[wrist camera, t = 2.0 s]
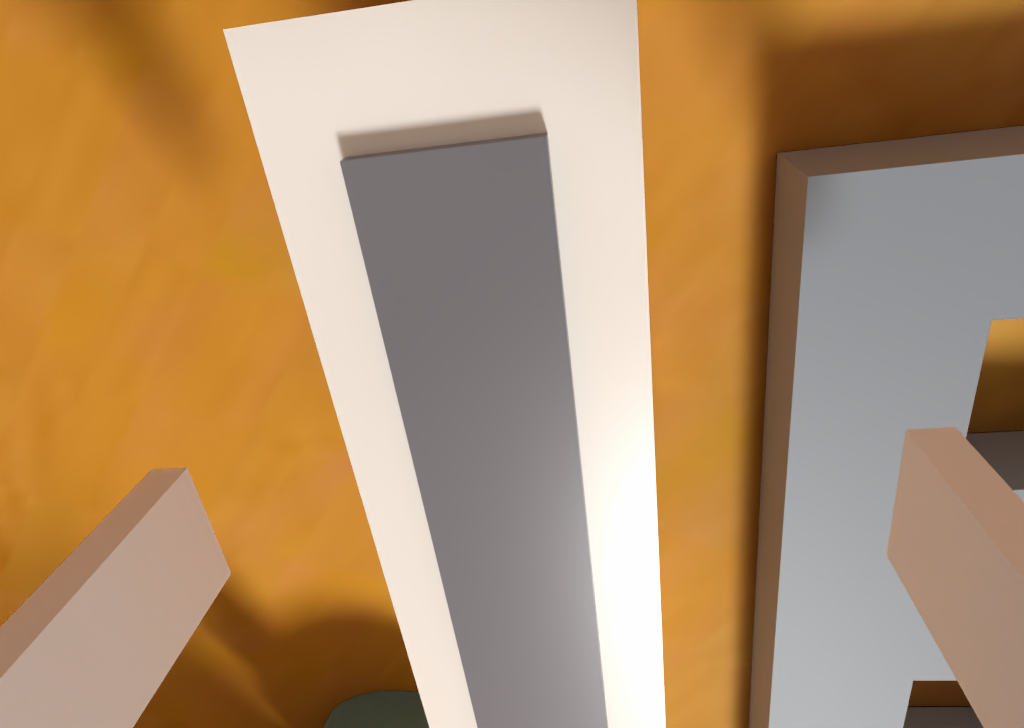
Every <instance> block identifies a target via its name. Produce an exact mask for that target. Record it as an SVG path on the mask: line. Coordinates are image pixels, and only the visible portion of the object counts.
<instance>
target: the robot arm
mask: <svg viewBox="0 0 1024 728" xmlns="http://www.w3.org/2000/svg"><path fill="white" fill-rule="evenodd" d="M887 557H888V559H889V560H890V562H891V564H892V566H893V567H894V569H895V571H896V573H897V575H898V576H899V578H900V580H901V582H902V583H903V585H904V587H905V589H906V591H907V592H908V594H909V596H910V598H911V599H912V601H913V603H914V605H915V607H916V608H917V610H918V612H919V614H920V615H921V617H922V619H923V621H924V623H925V624H926V626H927V628H928V630H929V632H930V633H931V635H932V637H933V639H934V640H935V642H936V644H937V646H938V648H939V649H940V651H941V653H942V655H943V656H944V658H945V660H946V662H947V664H948V665H949V667H950V669H951V671H952V672H953V674H954V676H955V678H956V680H957V681H958V683H959V685H960V687H961V688H962V690H963V692H964V694H965V696H966V697H967V699H968V701H969V703H970V704H971V706H972V708H973V710H974V712H975V713H976V715H977V717H978V719H979V720H980V722H981V724H982V726H983V728H1024V502H1023V501H1022V500H1021V499H1020V498H1019V497H1018V496H1017V494H1016V493H1015V492H1014V491H1013V490H1012V489H1011V488H1010V487H1009V486H1008V485H1007V483H1006V482H1005V481H1004V480H1003V479H1002V478H1001V477H1000V476H999V475H998V473H997V472H996V471H995V470H994V469H993V468H992V467H991V466H990V465H989V464H988V462H987V461H986V460H985V459H984V458H983V457H982V456H981V455H980V454H979V453H978V451H977V450H976V449H975V448H974V447H973V446H972V445H971V444H970V443H969V442H968V440H967V439H966V438H965V437H964V436H963V435H962V434H961V433H960V432H959V430H958V429H957V428H956V427H945V428H926V429H907V430H906V432H905V438H904V445H903V451H902V458H901V464H900V471H899V477H898V484H897V490H896V497H895V503H894V510H893V516H892V523H891V529H890V536H889V542H888V549H887ZM230 575H231V571H230V569H229V567H228V564H227V562H226V559H225V557H224V555H223V552H222V550H221V547H220V545H219V543H218V540H217V538H216V535H215V533H214V531H213V528H212V526H211V523H210V521H209V519H208V516H207V514H206V511H205V509H204V507H203V504H202V502H201V499H200V497H199V495H198V492H197V490H196V487H195V485H194V483H193V480H192V478H191V475H190V473H189V471H188V468H173V469H154V470H151V471H150V472H149V473H148V474H147V475H146V476H145V477H144V478H143V479H142V480H141V481H140V482H139V483H138V484H137V485H136V486H135V488H134V489H133V490H132V491H131V492H130V493H129V494H128V495H127V496H126V497H125V498H124V499H123V500H122V501H121V502H120V503H119V504H118V505H117V506H116V507H115V508H114V509H113V510H112V511H111V512H110V514H109V515H108V516H107V517H106V518H105V519H104V520H103V521H102V522H101V523H100V524H99V525H98V526H97V527H96V528H95V529H94V530H93V531H92V532H91V533H90V534H89V535H88V536H87V537H86V538H85V539H84V541H83V542H82V543H81V544H80V545H79V546H78V547H77V548H76V549H75V550H74V551H73V552H72V553H71V554H70V555H69V556H68V557H67V558H66V559H65V560H64V561H63V562H62V563H61V564H60V565H59V567H58V568H57V569H56V570H55V571H54V572H53V573H52V574H51V575H50V576H49V577H48V578H47V579H46V580H45V581H44V582H43V583H42V584H41V585H40V586H39V587H38V588H37V589H36V590H35V591H34V593H33V594H32V595H31V596H30V597H29V598H28V599H27V600H26V601H25V602H24V603H23V604H22V605H21V606H20V607H19V608H18V609H17V610H16V611H15V612H14V613H13V614H12V615H11V616H10V617H9V618H8V620H7V621H6V622H5V623H4V624H3V625H2V626H1V627H0V728H133V727H134V725H135V724H136V722H137V721H138V719H139V717H140V716H141V714H142V713H143V711H144V710H145V708H146V706H147V705H148V703H149V702H150V700H151V699H152V697H153V695H154V694H155V692H156V691H157V689H158V688H159V686H160V684H161V683H162V681H163V680H164V678H165V677H166V675H167V674H168V672H169V670H170V669H171V667H172V666H173V664H174V663H175V661H176V659H177V658H178V656H179V655H180V653H181V652H182V650H183V648H184V647H185V645H186V644H187V642H188V641H189V639H190V637H191V636H192V634H193V633H194V631H195V630H196V628H197V626H198V625H199V623H200V622H201V620H202V619H203V617H204V616H205V614H206V612H207V611H208V609H209V608H210V606H211V605H212V603H213V601H214V600H215V598H216V597H217V595H218V594H219V592H220V590H221V589H222V587H223V586H224V584H225V583H226V581H227V579H228V578H229V576H230Z"/></svg>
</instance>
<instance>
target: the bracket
mask: <svg viewBox="0 0 1024 728" xmlns="http://www.w3.org/2000/svg"><path fill="white" fill-rule="evenodd" d="M323 728H429V725H428V721H427V718H426V715H425V711H424V708H423V704H422V701H421V698H420V694H419V693H416V692H410V691H381V692H372V693H368V694H363V695H359V696H356V697H354V698H351V699H349V700H346V701H344V702H343V703H341V704H340V705H338V706H337V707H335V708H334V709H333V711H332V713H331V714H330V716H329V718H328V719H327V721H326V723H325V724H324V726H323Z"/></svg>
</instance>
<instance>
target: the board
mask: <svg viewBox="0 0 1024 728" xmlns="http://www.w3.org/2000/svg"><path fill="white" fill-rule="evenodd" d="M1018 318H1024V125H1023V126H1014V127H1005V128H996V129H987V130H978V131H969V132H960V133H951V134H942V135H933V136H924V137H915V138H906V139H897V140H888V141H879V142H870V143H861V144H853V145H844V146H835V147H826V148H817V149H808V150H799V151H790V152H781V153H777V170H776V190H775V210H774V230H773V250H772V270H771V290H770V310H769V330H768V350H767V370H766V390H765V410H764V430H763V451H762V471H761V491H760V511H759V531H758V551H757V571H756V591H755V611H754V631H753V651H752V671H751V691H750V711H749V728H983V726H982V724H981V722H980V720H979V719H978V717H977V715H976V713H975V712H974V710H973V708H972V707H908V703H909V698H910V693H911V689H912V684H913V681H957V680H956V678H955V676H954V674H953V672H952V671H951V669H950V667H949V665H948V664H947V662H946V660H945V658H944V656H943V655H942V653H941V651H940V649H939V648H938V646H937V644H936V642H935V640H934V639H933V637H932V635H931V633H930V632H929V630H928V628H927V626H926V624H925V623H924V621H923V619H922V617H921V615H920V614H919V612H918V610H917V608H916V607H915V605H914V603H913V601H912V599H911V598H910V596H909V594H908V592H907V591H906V589H905V587H904V585H903V583H902V582H901V580H900V578H899V576H898V575H897V573H896V571H895V569H894V567H893V566H892V564H891V562H890V560H889V559H888V557H887V549H888V542H889V536H890V529H891V523H892V516H893V510H894V503H895V497H896V490H897V484H898V477H899V471H900V464H901V458H902V451H903V445H904V438H905V432H906V430H907V429H926V428H945V427H956V428H957V429H958V430H959V432H960V433H961V434H962V435H963V436H964V437H965V438H966V439H967V440H968V442H969V443H970V444H971V445H972V446H973V447H974V448H975V449H976V450H977V451H978V453H979V454H980V455H981V456H982V457H983V458H984V459H985V460H986V461H987V462H988V464H989V465H990V466H991V467H992V468H993V469H994V470H995V471H996V472H997V473H998V475H999V476H1000V477H1001V478H1002V479H1003V480H1004V481H1005V482H1006V483H1007V485H1008V486H1009V487H1010V488H1011V489H1012V490H1013V491H1014V492H1015V493H1016V494H1017V496H1018V497H1019V498H1020V499H1021V500H1022V501H1023V502H1024V431H1010V432H991V433H972V434H967V431H968V426H969V422H970V417H971V413H972V408H973V403H974V399H975V394H976V390H977V385H978V380H979V376H980V371H981V366H982V362H983V357H984V353H985V348H986V343H987V339H988V334H989V330H990V325H991V320H1004V319H1018Z"/></svg>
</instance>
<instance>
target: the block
mask: <svg viewBox="0 0 1024 728" xmlns="http://www.w3.org/2000/svg"><path fill="white" fill-rule="evenodd" d="M223 31H224V35H225V38H226V42H227V45H228V48H229V52H230V55H231V58H232V62H233V65H234V69H235V72H236V75H237V79H238V82H239V85H240V89H241V92H242V96H243V99H244V102H245V106H246V109H247V113H248V116H249V119H250V123H251V126H252V129H253V133H254V136H255V140H256V143H257V146H258V150H259V153H260V157H261V160H262V163H263V167H264V170H265V173H266V177H267V180H268V184H269V187H270V190H271V194H272V197H273V200H274V204H275V207H276V211H277V214H278V217H279V221H280V224H281V228H282V231H283V234H284V238H285V241H286V244H287V248H288V251H289V255H290V258H291V261H292V265H293V268H294V272H295V275H296V278H297V282H298V285H299V288H300V292H301V295H302V299H303V302H304V305H305V309H306V312H307V315H308V319H309V322H310V326H311V329H312V332H313V336H314V339H315V343H316V346H317V349H318V353H319V356H320V359H321V363H322V366H323V370H324V373H325V376H326V380H327V383H328V387H329V390H330V393H331V397H332V400H333V403H334V407H335V410H336V414H337V417H338V420H339V424H340V427H341V430H342V434H343V437H344V441H345V444H346V447H347V451H348V454H349V458H350V461H351V464H352V468H353V471H354V474H355V478H356V481H357V485H358V488H359V491H360V495H361V498H362V501H363V505H364V508H365V512H366V515H367V518H368V522H369V525H370V529H371V532H372V535H373V539H374V542H375V545H376V549H377V552H378V556H379V559H380V562H381V566H382V569H383V573H384V576H385V579H386V583H387V586H388V589H389V593H390V596H391V600H392V603H393V606H394V610H395V613H396V616H397V620H398V623H399V627H400V630H401V633H402V637H403V640H404V644H405V647H406V650H407V654H408V657H409V660H410V664H411V667H412V671H413V674H414V677H415V681H416V684H417V688H418V691H419V694H420V698H421V701H422V704H423V708H424V711H425V715H426V718H427V721H428V725H429V728H666V723H665V698H664V673H663V648H662V623H661V598H660V572H659V547H658V522H657V497H656V472H655V447H654V422H653V397H652V372H651V347H650V322H649V297H648V271H647V246H646V221H645V196H644V171H643V146H642V121H641V96H640V71H639V46H638V21H637V0H411V1H405V2H398V3H392V4H385V5H379V6H372V7H366V8H359V9H353V10H346V11H340V12H333V13H327V14H320V15H314V16H307V17H301V18H294V19H288V20H281V21H275V22H268V23H262V24H255V25H249V26H242V27H236V28H229V29H223Z"/></svg>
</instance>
